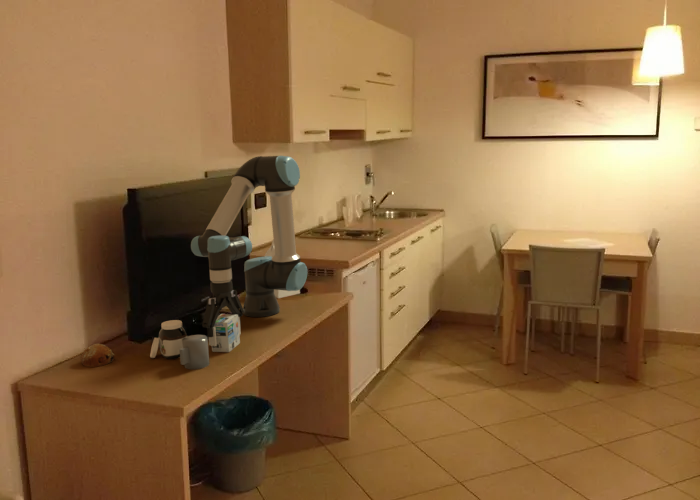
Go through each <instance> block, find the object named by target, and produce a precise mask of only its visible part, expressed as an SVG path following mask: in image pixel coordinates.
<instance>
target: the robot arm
mask: <svg viewBox="0 0 700 500" xmlns="http://www.w3.org/2000/svg"><path fill="white" fill-rule="evenodd" d="M300 171H301V170H300V167H299V165H298V163H297V161H296V160H295V159H294V158H293V157H291V156H288V155H287V156H286V155H269V156H262V155H261V156H260V155H259V156H253V157H252V158H250V159H248V160H247V161H246V162H244V163H243V164H242V165H241V166H240V167H239V168H238V169H237V170H236V172H235V173H234V174H233V177H232V179H231V180H230V183H231V185H230V187H229V189H228V191H227V192H226V194H225V196H224V197H223V199H222V201H221V202H220V204H219V206H218V207H217V209H216V211H215V213H214V215H213V216H212V217H211V220H210V222H209V223H208V225H207V227H206V229H205V231H204V232H203V234H202V235H197V236H195V237H193V238H192V240H191V242H190V250H191V252H192V253H193V254H194V256H197V257H203V258H208V267H209V268H208V269H209V280H210V283H209V284H210V292H211V293H212V295H213V296H212V297H211V298H210V297H207V298H206V306H205V311H204V316H203V321H202V325H201V326H202V328H206V331H207V333H206V334H207V338H208V346H211V347H212V346H217V341H216V327H214V325H215V322H216V319H217V317H218V316H219V315H220V312H221V311H222V310H223V309H224V308H225V307H227V308H228V310H230V312H231V314H238V322H239V336H241V334H242V333H241V317H243V315H244V316H246V317H253V318H261V317H269V316H273V315H277V314H279V313H280V311H281V309H280V304H279V301H278V298H276V296H275V294H274V289H275V290H286V291H298V290H300V291H301V289H302V288H303V287H304V285H305V283H306V281H307V277H308V267H307V265H306V263H305V262H302V260H301V255H300V254H298V253H297V247H296V244H297V243H296V234H295V233H296V232H295V222H294V219H295V218H294V210H293V207H294V206H293V199H292V198H293V197H292V195H293V193H294V191H295V190H296V188H295V187H296V186H297V185H298V184H299V182H300V178H301V174H300V173H301V172H300ZM258 187H264V191H265V193H266V194H267V195H269V203H270V215H271V224H272V225H271V226H272V236H273V237H272V238H273V239H274V250H275V255H274V256H273V258H272V257H271V256H265V255H264V256H258V257H254V258H249V259H247V260H246V261H244V264H243V266H244V270H243V272H244V282H245V293H246V294H245V299H244V303H243V305H242V303H241V301H240V298H239V296H238V291H237V290H234V286H233V271H232V269H233V268H232V261H235V260H238V259H242V258H245V257H247V256H249V255H250V254H251V252H252V250H253V243H252V241H251V240H250V238H249V237H247V236H246V235H242V236H235V237H232V236H231V237H229V236H228V235H227V234H228V233H229V231H230V229H231V227H232V226H233V223H234V222H235V220H236V219H237V217H238V215H239V213H240V211H241V209H242V207H243V206H244V204H245V202H246V200H247V198H248V197H249V195H250V194H252V193H254V191H255V190H256V188H258ZM273 239H272V240H273Z"/></svg>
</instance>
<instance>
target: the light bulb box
mask: <svg viewBox="0 0 700 500" xmlns="http://www.w3.org/2000/svg"><path fill="white" fill-rule="evenodd" d="M214 327H216V341H217V346H211V352H212V353H213V352H214V353H215V352H216V353H231V351H232V350H234V349H235V348H236V347H237V346H239V344H241V339H240V336H241V335H239V322H238V314H233V313H230V314H229V313H221V314H220V313H219V314H218V317H217V319H216V322H215V325H214Z"/></svg>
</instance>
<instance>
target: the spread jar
mask: <svg viewBox="0 0 700 500" xmlns="http://www.w3.org/2000/svg"><path fill="white" fill-rule="evenodd" d="M160 326H161V329H160V330H159V332H158V337H153V340H152V345H151V349H150V355H149V357H150V358H151V359H154V358H156V356H157V352H158V350H159V351H160V353H161V355H162V357H163V358H164V359H167V360H176V359H180V350H179V349H181V348H183V344H182V339H183V338H185V337H187V336H188V335H187V332H186V330H185V329H184V327H183V322H182V320H179V319H172V320H166V321H163V322H161V325H160Z"/></svg>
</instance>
